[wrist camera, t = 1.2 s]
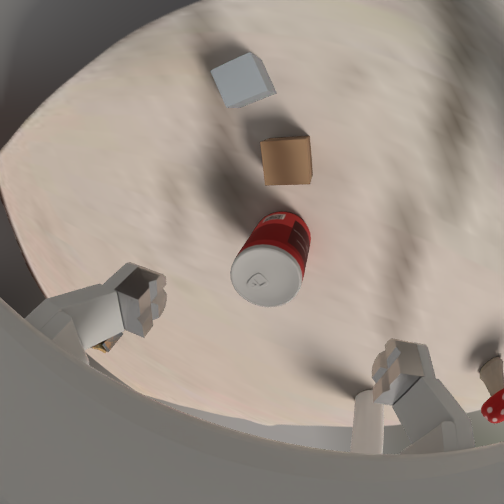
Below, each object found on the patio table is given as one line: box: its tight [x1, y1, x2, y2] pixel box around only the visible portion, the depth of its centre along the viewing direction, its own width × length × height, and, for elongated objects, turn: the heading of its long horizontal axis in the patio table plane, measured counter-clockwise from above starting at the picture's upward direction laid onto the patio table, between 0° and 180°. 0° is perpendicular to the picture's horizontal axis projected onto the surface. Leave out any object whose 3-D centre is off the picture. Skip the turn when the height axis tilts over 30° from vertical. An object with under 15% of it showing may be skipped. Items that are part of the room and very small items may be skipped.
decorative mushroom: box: [480, 357, 504, 423], centre depth 31 cm, size 10×9×15 cm
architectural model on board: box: [90, 332, 123, 353], centre depth 62 cm, size 11×3×10 cm, turn 106°
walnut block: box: [260, 136, 313, 186], centre depth 30 cm, size 5×5×5 cm
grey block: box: [211, 52, 277, 108], centre depth 27 cm, size 5×5×5 cm
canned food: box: [230, 212, 311, 307], centre depth 33 cm, size 8×8×11 cm
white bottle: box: [350, 390, 384, 454], centre depth 40 cm, size 7×7×25 cm
